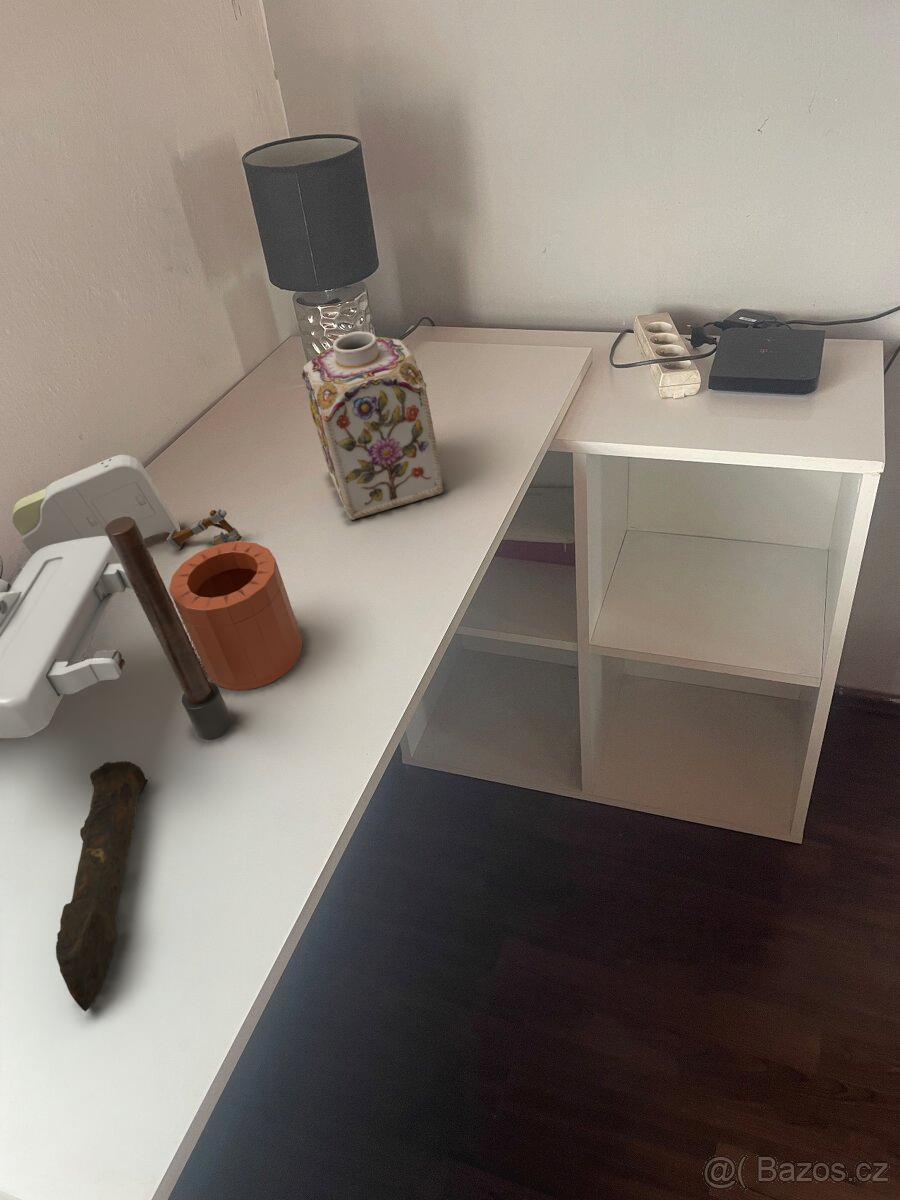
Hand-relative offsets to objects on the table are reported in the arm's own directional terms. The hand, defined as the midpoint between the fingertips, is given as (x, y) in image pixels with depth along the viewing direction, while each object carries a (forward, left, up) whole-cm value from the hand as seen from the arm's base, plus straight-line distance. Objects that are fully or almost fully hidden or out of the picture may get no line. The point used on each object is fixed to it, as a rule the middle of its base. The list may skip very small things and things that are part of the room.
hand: (139, 621), depth 69 cm
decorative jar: (-11, +37, -13) cm, 41 cm away
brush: (+2, +1, -12) cm, 13 cm away
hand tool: (+9, -13, -13) cm, 20 cm away
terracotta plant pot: (-2, +9, -12) cm, 16 cm away
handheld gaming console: (-30, +11, -13) cm, 34 cm away
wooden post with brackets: (-21, +18, -13) cm, 30 cm away
